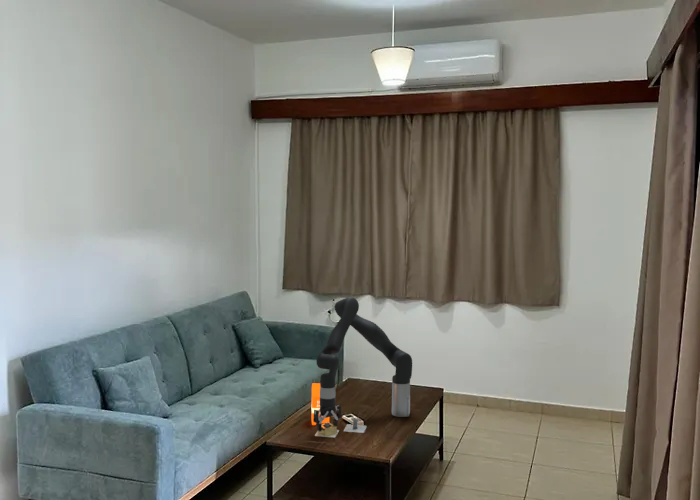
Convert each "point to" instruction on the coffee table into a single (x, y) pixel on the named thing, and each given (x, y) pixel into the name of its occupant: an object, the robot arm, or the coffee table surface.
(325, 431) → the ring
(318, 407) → the orange juice
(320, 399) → the robot arm
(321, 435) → the hub
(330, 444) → the coffee table surface
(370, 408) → the coffee table surface
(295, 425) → the coffee table surface
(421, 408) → the coffee table surface
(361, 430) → the rod stand
